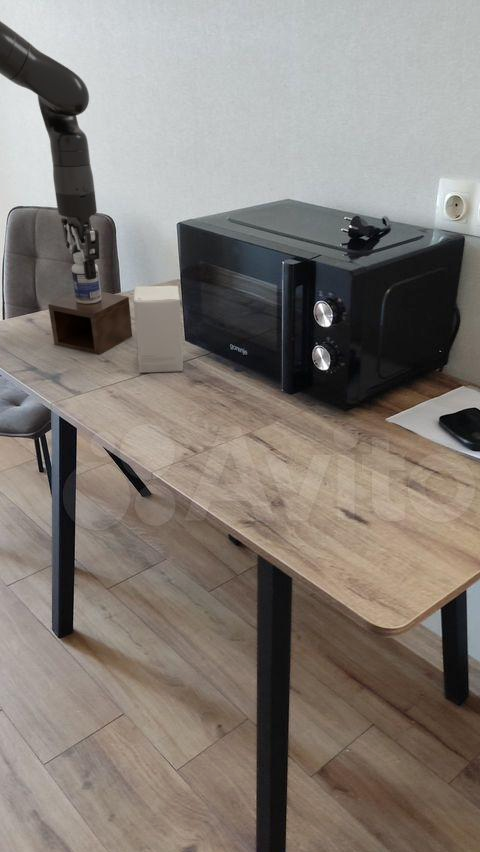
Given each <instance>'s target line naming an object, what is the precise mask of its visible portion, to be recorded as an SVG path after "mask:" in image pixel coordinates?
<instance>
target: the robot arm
mask: <svg viewBox="0 0 480 852" xmlns="http://www.w3.org/2000/svg"><path fill="white" fill-rule="evenodd" d="M0 75H2V76H3V77H4V78H6V79H8V80H9V81H10V82H12V83H14V84H16V85H17V86H20V87H22V88H25V89H27V90H29V91H31V92H32V93H34V94H35V95H36V96H37V101H38V106H39V111H40V115H41V117H42V121H43V123H44V127H45V130H46V133H47V135H48V138H49V144H50V146H49V147H50V154H51V162H52V178H53V185H54V192H55V193H54V194H55V201H56V207H57V213H58V215H60V216H61V220H60V222H61V226H62V230H63V236H64V241H65V247H66V248H67V249H69V252H70V254H71V258H72V259H71V260H72V266H73V265H74V264H75V262H74V257H73V254H74V253H77V252H81V254H82V258H83V264H84V272H85V278H86V279H88V280H90V279H95V278H96V268H95V264H96V260H100V235H99V234H100V232H99V230H98V229H94V228H93V225H92V223H91V220H90V218H91V217H92V216H94V215H96V214H97V211H98V209H97V201H96V200H97V199H96V191H95V182H94V175H93V171H92V165H91V155H90V149H89V147H90V146H89V142H88V138H87V135H86V133H85V132H84V130H82V129H81V128H80V126H79V121H78V117H77V116H79V115H81V114H82V113H84V112H85V111H86V110H87V108H88V107H89V103H90V93H89V90H88V87H87V85H86V83H85V81H84V80H83V79H82V78H81V77H80V76H79V75H78V74H77V73H75V72H74V71H73V70H72V69H70V68H68V67H67V66H66V65H64V64H62V63H61V62H59V61H57V60H55V59H53V58H52V57H50V56H49V55H47V54H45V53H44V52H42V51H40V50H39V49H38V48H36V47H35V46H34V45H33V44H32V43H30V42H29V41H28V40H27V39H26V38H24V37H23V36H21V35H20V34H19V33H18V32H16V31H15V30H13V29H12V28H11V27H10V26H9V25H7V24H5V23H4V22H2V21H1V20H0ZM90 252H91V254H90Z"/></svg>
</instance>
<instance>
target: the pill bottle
mask: <svg viewBox="0 0 480 852" xmlns="http://www.w3.org/2000/svg"><path fill="white" fill-rule="evenodd" d="M72 254H73V253H72ZM90 254H91V252H90ZM73 257H74V262H75V264H74V265H73V264H72V266H71V275H72V283H73V291H74V293H75V297H76V301H77V302H79V303H83V304H92V303H96V302H99V301H100V300H101V292H102V290H101V281H100V273H99V266H98V265H97V264H96V263H95V268H96V278H95V279H90V280H88V279H86V278H85V272H84V264H83V258H82V254H81V252H77V253H74V254H73Z"/></svg>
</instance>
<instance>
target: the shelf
mask: <svg viewBox="0 0 480 852" xmlns="http://www.w3.org/2000/svg"><path fill="white" fill-rule="evenodd" d="M47 306H48V312H49V318H50V325H51V332H52V337H53V345H54V346H59V347H63V348H68V349H71V350H76V351H77V350H78V351H81V352H86V353H90V354H95V355H102V354H104V353H105V352H107V351H109V350H110V349H112V348H114V347H116V346H118V345H119V344H121V343H123V342H124V341H126V340H128V339H130V338H132V337H133V329H132V317H131V306H130V297H129V296H125V295H121V294H116V293H111V292H107V291H101V300H100V301H99V302H96V303H92V304H83V303H79V302H77V301H76V297H75V292H73V293H71V294H68V295H66V296H64V297H62V298H61V297H60V298H59V299H56V300H55V301H52V302H50V303H48V304H47Z"/></svg>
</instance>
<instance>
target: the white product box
mask: <svg viewBox="0 0 480 852" xmlns="http://www.w3.org/2000/svg"><path fill="white" fill-rule="evenodd" d="M133 311H134V322H135V323H134V324H135V334H136V335H135V336H136V345H137V347H136V348H137V359H138V373H140V374H141V373H142V374H143V373H168V372H169V373H170V372H171V373H172V372H183V371H184V360H183V359H184V358H183V357H184V355H183V352H184V351H183V330H182V313H181V299H180V290H179V286H178V285H155V286H154V285H153V286H152V285H150V286H149V285H148V286H146V285H145V286H134V288H133Z"/></svg>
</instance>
